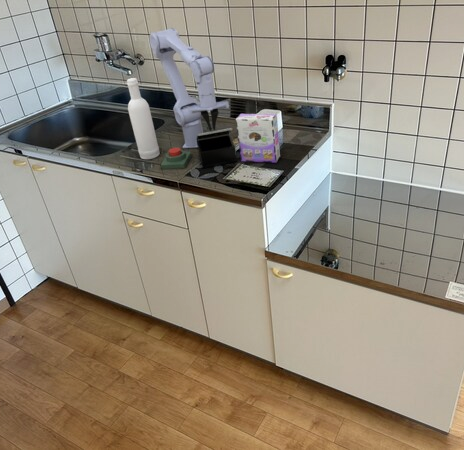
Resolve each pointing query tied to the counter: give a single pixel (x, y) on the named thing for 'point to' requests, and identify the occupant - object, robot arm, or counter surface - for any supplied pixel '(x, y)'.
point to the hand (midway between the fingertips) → (212, 129)
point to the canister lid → (213, 134)
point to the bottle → (142, 122)
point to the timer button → (174, 152)
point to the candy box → (258, 137)
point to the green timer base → (176, 160)
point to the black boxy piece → (216, 151)
